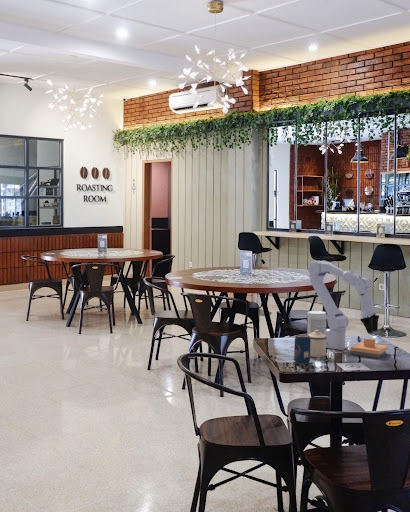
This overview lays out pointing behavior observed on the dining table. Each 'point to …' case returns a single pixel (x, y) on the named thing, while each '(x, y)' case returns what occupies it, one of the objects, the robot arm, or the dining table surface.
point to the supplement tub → (316, 322)
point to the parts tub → (368, 354)
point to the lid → (369, 347)
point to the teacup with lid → (317, 344)
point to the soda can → (302, 349)
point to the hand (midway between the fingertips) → (372, 332)
